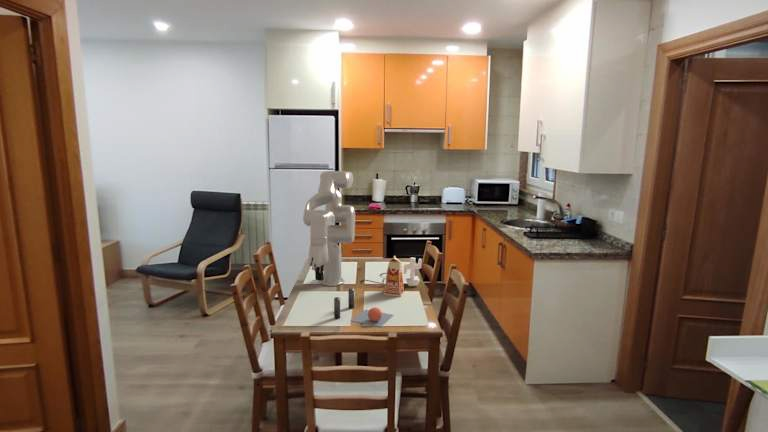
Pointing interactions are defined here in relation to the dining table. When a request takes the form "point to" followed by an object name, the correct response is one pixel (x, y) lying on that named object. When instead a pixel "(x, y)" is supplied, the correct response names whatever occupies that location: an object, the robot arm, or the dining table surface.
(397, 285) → the milk carton
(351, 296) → the post
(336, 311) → the post
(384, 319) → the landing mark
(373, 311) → the ball
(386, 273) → the sunglasses
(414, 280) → the figurine
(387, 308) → the dining table surface
